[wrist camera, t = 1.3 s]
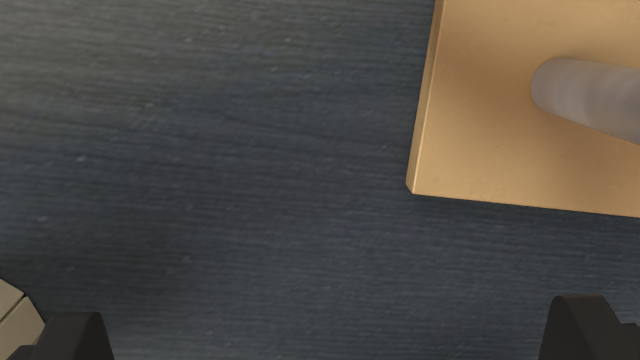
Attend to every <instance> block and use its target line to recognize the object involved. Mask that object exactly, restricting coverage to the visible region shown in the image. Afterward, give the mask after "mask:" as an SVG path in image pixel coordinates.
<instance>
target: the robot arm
mask: <svg viewBox="0 0 640 360" xmlns="http://www.w3.org/2000/svg"><path fill="white" fill-rule="evenodd" d="M6 360H115V359H114V356H113V353H112V349H111V346H110V342H109V339H108V335H107V332H106V328H105V325H104V322H103V319H102V316H101V315H100V313H98V312H79V313H55V314H53V315H51V316H50V318H49V319H48V321H47V323H46V325H45V327H44V329H43V331H42V333H41V335H40V337H39V339H38V341H37V343H36V345H20V346H19V347H18V348H17V349H16V350H15V351H14V352H13V353H12V354H11V355H10V356H9V357H8V358H7V359H6ZM539 360H640V327H639V326H638V325H636V324H635V323H627V324H621V323H620V321H619V320H618V318H617V317H616V315H615V313H614V312H613V310H612V308H611V307H610V305H609V304H608V302H607V301H606V299H605V298H604V297H603V296H601V295H599V294H592V295H566V296H556V297H554V298H553V300H552V303H551V306H550V310H549V315H548V319H547V323H546V327H545V331H544V336H543V340H542V344H541V348H540V353H539Z"/></svg>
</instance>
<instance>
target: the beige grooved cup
mask: <svg viewBox="0 0 640 360" xmlns="http://www.w3.org/2000/svg"><path fill="white" fill-rule="evenodd" d="M23 295H24V293H23V292H22V291H20V290H18V289H17V288H15V287H13V286H12V285H10V284H8V283H7V282H5V281H3V280H2V279H0V360H6V359H7V358H8V357H9V356H10V355H11V354H12V353H13V352H14V351H15V350H16V349H17V348H18V347H19V346H20V345H36V343H37V341H38V339H39V337H40V335H41V333H42V331H43V329H44V327H45V324H44V322H43V320H42V319H41V317H40V315H39V314H38V312H37V311H36V309H35V307H34V306H33V304H32V302H31V301H30V299H29V298H28V297H24V298H22V296H23ZM21 298H22V299H21Z"/></svg>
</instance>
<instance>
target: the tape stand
mask: <svg viewBox="0 0 640 360" xmlns="http://www.w3.org/2000/svg"><path fill="white" fill-rule="evenodd" d="M405 183H406V186H407V187H408V188H409V190H410V191H411V192H412V193H413V194H418V195H428V196H438V197H447V198H457V199H466V200H476V201H486V202H495V203H505V204H514V205H524V206H534V207H543V208H553V209H562V210H572V211H582V212H591V213H601V214H610V215H620V216H630V217H639V218H640V0H436V1H435V7H434V13H433V19H432V25H431V31H430V37H429V43H428V49H427V55H426V61H425V67H424V73H423V79H422V85H421V92H420V98H419V104H418V110H417V116H416V122H415V128H414V134H413V140H412V146H411V152H410V158H409V164H408V170H407V176H406V182H405Z"/></svg>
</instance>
